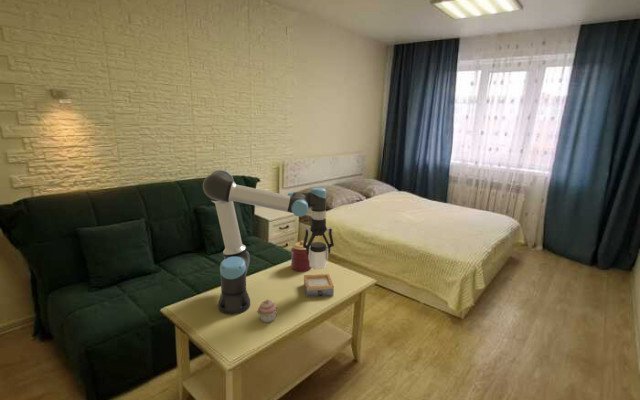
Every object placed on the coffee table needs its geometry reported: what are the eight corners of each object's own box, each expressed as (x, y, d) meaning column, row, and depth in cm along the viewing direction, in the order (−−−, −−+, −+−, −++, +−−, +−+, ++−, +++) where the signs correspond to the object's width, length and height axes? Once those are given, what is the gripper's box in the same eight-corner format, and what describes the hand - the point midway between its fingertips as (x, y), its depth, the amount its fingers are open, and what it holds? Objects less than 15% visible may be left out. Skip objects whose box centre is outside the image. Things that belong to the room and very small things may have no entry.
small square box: (307, 298, 170) (307, 288, 169) (303, 284, 184) (304, 275, 183) (333, 296, 172) (334, 286, 171) (328, 283, 186) (328, 274, 185)
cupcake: (253, 319, 151) (252, 299, 149) (269, 311, 158) (269, 292, 155) (266, 328, 145) (266, 307, 143) (282, 319, 152) (282, 299, 149)
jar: (329, 267, 174) (329, 245, 171) (317, 271, 169) (317, 249, 166) (318, 261, 181) (318, 240, 178) (306, 265, 176) (306, 244, 173)
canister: (303, 261, 214) (303, 235, 210) (316, 268, 205) (316, 241, 201) (286, 266, 206) (287, 239, 202) (299, 274, 197) (299, 246, 192)
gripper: (298, 220, 163) (298, 263, 169) (340, 219, 167) (339, 261, 172) (297, 216, 171) (297, 257, 176) (337, 215, 174) (336, 255, 179)
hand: (318, 259), depth 174 cm, fingers closed on jar, 9 cm apart
